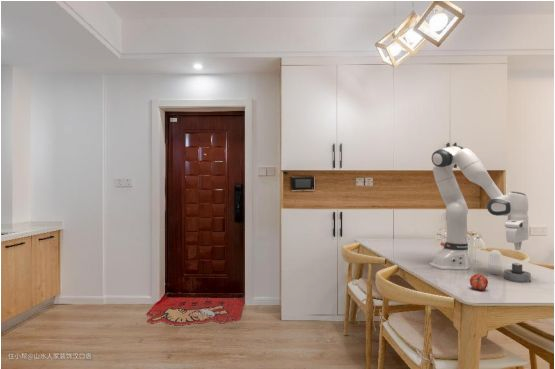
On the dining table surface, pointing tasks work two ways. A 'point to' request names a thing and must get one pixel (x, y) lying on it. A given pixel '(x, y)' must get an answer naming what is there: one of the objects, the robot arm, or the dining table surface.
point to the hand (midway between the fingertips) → (517, 249)
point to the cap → (516, 268)
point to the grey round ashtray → (517, 276)
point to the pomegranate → (478, 282)
